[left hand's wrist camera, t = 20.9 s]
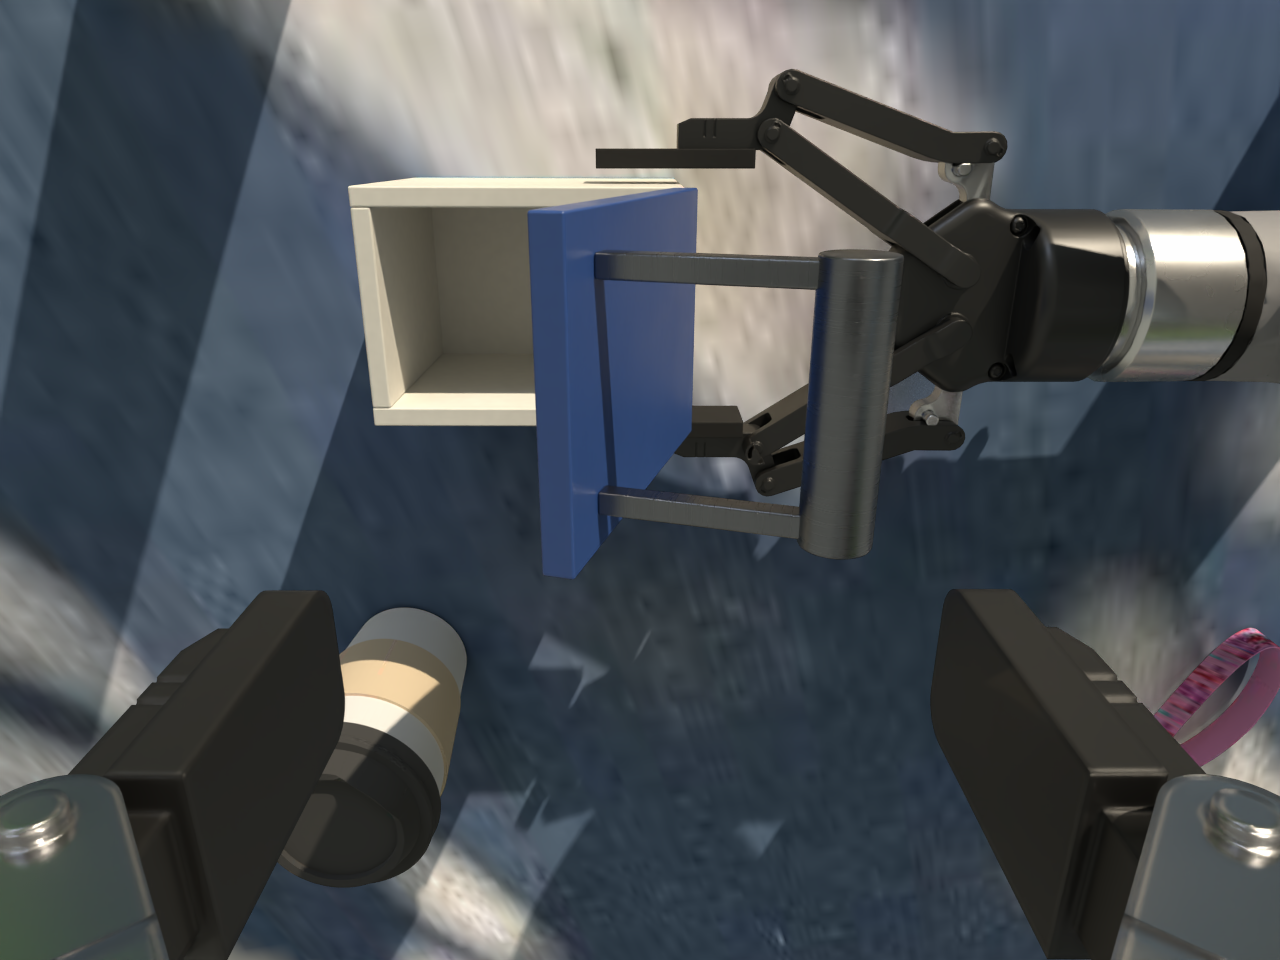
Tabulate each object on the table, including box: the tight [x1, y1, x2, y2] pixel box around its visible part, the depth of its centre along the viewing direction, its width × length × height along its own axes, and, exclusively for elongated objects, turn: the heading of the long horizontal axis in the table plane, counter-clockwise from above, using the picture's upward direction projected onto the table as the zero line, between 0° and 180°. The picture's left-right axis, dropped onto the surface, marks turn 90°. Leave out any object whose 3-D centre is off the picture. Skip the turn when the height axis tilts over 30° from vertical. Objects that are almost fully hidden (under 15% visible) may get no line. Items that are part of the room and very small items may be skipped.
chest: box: [348, 177, 684, 426], centre depth 39 cm, size 13×10×11 cm
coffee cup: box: [277, 608, 467, 887], centre depth 46 cm, size 9×9×15 cm
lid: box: [527, 188, 904, 580], centre depth 27 cm, size 14×10×9 cm
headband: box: [1154, 628, 1280, 767], centre depth 53 cm, size 11×4×2 cm, turn 152°
